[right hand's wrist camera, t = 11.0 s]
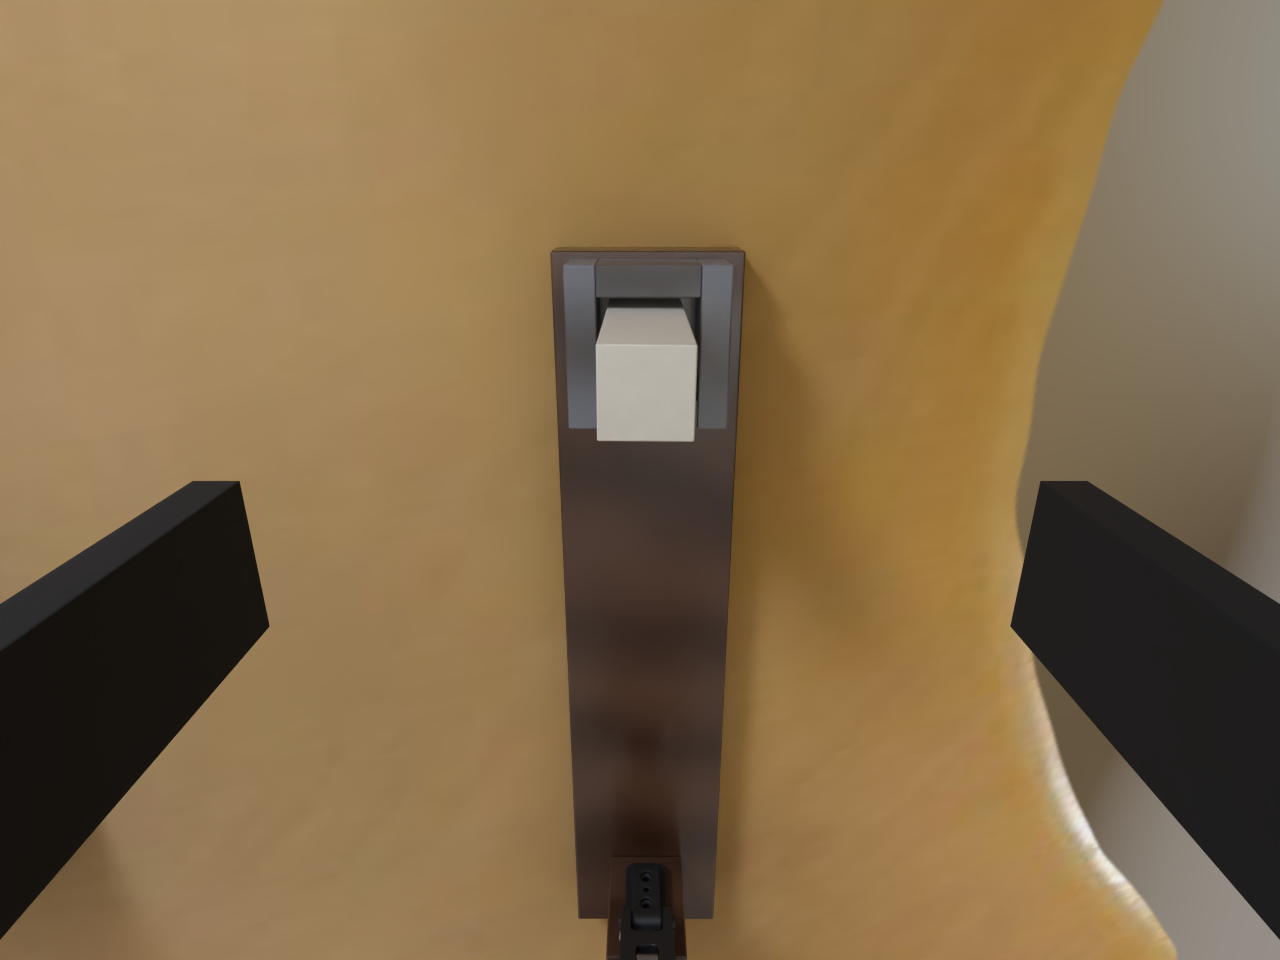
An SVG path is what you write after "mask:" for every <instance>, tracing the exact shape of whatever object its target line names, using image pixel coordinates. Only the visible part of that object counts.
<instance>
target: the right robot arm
mask: <svg viewBox="0 0 1280 960" xmlns="http://www.w3.org/2000/svg"><path fill="white" fill-rule="evenodd" d="M268 628H269V621H268V617H267V612H266V607H265V602H264V597H263V592H262V588H261V583H260V578H259V573H258V568H257V563H256V559H255V554H254V549H253V544H252V539H251V534H250V530H249V525H248V520H247V515H246V510H245V505H244V501H243V496H242V491H241V486H240V481H192V482H191V483H189V484H187V485H186V486H184V487H183V488H181V489H180V490H178V491H177V492H175V493H173V494H172V495H170V496H169V497H167V498H166V499H164V500H162V501H161V502H159V503H158V504H156V505H155V506H153V507H151V508H150V509H148V510H147V511H145V512H144V513H142V514H140V515H139V516H137V517H136V518H134V519H133V520H131V521H130V522H128V523H126V524H125V525H123V526H122V527H120V528H119V529H117V530H115V531H114V532H112V533H111V534H109V535H108V536H106V537H104V538H103V539H101V540H100V541H98V542H97V543H95V544H94V545H92V546H90V547H89V548H87V549H86V550H84V551H83V552H81V553H79V554H78V555H76V556H75V557H73V558H72V559H70V560H68V561H67V562H65V563H64V564H62V565H61V566H59V567H58V568H56V569H54V570H53V571H51V572H50V573H48V574H47V575H45V576H43V577H42V578H40V579H39V580H37V581H36V582H34V583H32V584H31V585H29V586H28V587H26V588H25V589H23V590H21V591H20V592H18V593H17V594H15V595H14V596H12V597H11V598H9V599H7V600H6V601H4V602H3V603H1V604H0V939H1V938H2V937H3V936H4V935H5V933H6V932H7V931H8V930H9V929H10V928H11V926H12V925H13V924H14V923H15V922H16V921H17V920H18V918H19V917H20V916H21V915H22V914H23V913H24V911H25V910H26V909H27V908H28V907H29V906H30V904H31V903H32V902H33V901H34V900H35V899H36V897H37V896H38V895H39V894H40V893H41V892H42V890H43V889H44V888H45V887H46V886H47V885H48V883H49V882H50V881H51V880H52V879H53V878H54V876H55V875H56V874H57V873H58V872H59V871H60V870H61V868H62V867H63V866H64V865H65V864H66V863H67V861H68V860H69V859H70V858H71V857H72V856H73V854H74V853H75V852H76V851H77V850H78V849H79V847H80V846H81V845H82V844H83V843H84V842H85V840H86V839H87V838H88V837H89V836H90V835H91V833H92V832H93V831H94V830H95V829H96V828H97V826H98V825H99V824H100V823H101V822H102V821H103V819H104V818H105V817H106V816H107V815H108V814H109V813H110V811H111V810H112V809H113V808H114V807H115V806H116V804H117V803H118V802H119V801H120V800H121V799H122V797H123V796H124V795H125V794H126V793H127V792H128V790H129V789H130V788H131V787H132V786H133V785H134V783H135V782H136V781H137V780H138V779H139V778H140V776H141V775H142V774H143V773H144V772H145V771H146V769H147V768H148V767H149V766H150V765H151V764H152V762H153V761H154V760H155V759H156V758H157V757H158V756H159V754H160V753H161V752H162V751H163V750H164V749H165V747H166V746H167V745H168V744H169V743H170V742H171V740H172V739H173V738H174V737H175V736H176V735H177V733H178V732H179V731H180V730H181V729H182V728H183V726H184V725H185V724H186V723H187V722H188V721H189V719H190V718H191V717H192V716H193V715H194V714H195V712H196V711H197V710H198V709H199V708H200V707H201V706H202V704H203V703H204V702H205V701H206V700H207V699H208V697H209V696H210V695H211V694H212V693H213V692H214V690H215V689H216V688H217V687H218V686H219V685H220V683H221V682H222V681H223V680H224V679H225V678H226V676H227V675H228V674H229V673H230V672H231V671H232V669H233V668H234V667H235V666H236V665H237V664H238V662H239V661H240V660H241V659H242V658H243V657H244V655H245V654H246V653H247V652H248V651H249V650H250V649H251V647H252V646H253V645H254V644H255V643H256V642H257V640H258V639H259V638H260V637H261V636H262V635H263V633H264V632H265V631H266V630H267V629H268ZM1011 628H1012V629H1013V630H1014V631H1015V632H1016V633H1017V635H1018V636H1019V637H1020V638H1021V639H1022V640H1023V642H1024V643H1025V644H1026V645H1027V646H1028V647H1029V649H1030V650H1031V651H1032V652H1033V653H1034V654H1035V655H1036V657H1037V658H1038V659H1039V660H1040V661H1041V662H1042V664H1043V665H1044V666H1045V667H1046V668H1047V669H1048V671H1049V672H1050V673H1051V674H1052V675H1053V676H1054V678H1055V679H1056V680H1057V681H1058V682H1059V683H1060V685H1061V686H1062V687H1063V688H1064V689H1065V690H1066V692H1067V693H1068V694H1069V695H1070V696H1071V697H1072V698H1073V700H1074V701H1075V702H1076V703H1077V704H1078V706H1079V707H1080V708H1081V709H1082V710H1083V711H1084V712H1085V714H1086V715H1087V716H1088V717H1089V718H1090V719H1091V721H1092V722H1093V723H1094V724H1095V725H1096V726H1097V728H1098V729H1099V730H1100V731H1101V732H1102V733H1103V735H1104V736H1105V737H1106V738H1107V739H1108V740H1109V741H1110V743H1111V744H1112V745H1113V746H1114V747H1115V749H1116V750H1117V751H1118V752H1119V753H1120V754H1121V756H1122V757H1123V758H1124V759H1125V760H1126V761H1127V762H1128V764H1129V765H1130V766H1131V767H1132V768H1133V769H1134V771H1135V772H1136V773H1137V774H1138V775H1139V776H1140V778H1141V779H1142V780H1143V781H1144V782H1145V783H1146V785H1147V786H1148V787H1149V788H1150V789H1151V790H1152V792H1153V793H1154V794H1155V795H1156V796H1157V797H1158V799H1159V800H1160V801H1161V802H1162V803H1163V804H1164V805H1165V807H1166V808H1167V809H1168V810H1169V811H1170V813H1171V814H1172V815H1173V816H1174V817H1175V818H1176V819H1177V821H1178V822H1179V823H1180V824H1181V825H1182V826H1183V828H1184V829H1185V830H1186V831H1187V832H1188V833H1189V835H1190V836H1191V837H1192V838H1193V839H1194V840H1195V842H1196V843H1197V844H1198V845H1199V846H1200V847H1201V849H1202V850H1203V851H1204V852H1205V853H1206V854H1207V856H1208V857H1209V858H1210V859H1211V860H1212V861H1213V863H1214V864H1215V865H1216V866H1217V867H1218V868H1219V870H1220V871H1221V872H1222V873H1223V874H1224V875H1225V876H1226V878H1227V879H1228V880H1229V881H1230V882H1231V883H1232V885H1233V886H1234V887H1235V888H1236V889H1237V890H1238V892H1239V893H1240V894H1241V895H1242V896H1243V897H1244V899H1245V900H1246V901H1247V902H1248V903H1249V904H1250V906H1251V907H1252V908H1253V909H1254V910H1255V911H1256V913H1257V914H1258V915H1259V916H1260V917H1261V918H1262V920H1263V921H1264V922H1265V923H1266V924H1267V925H1268V926H1269V928H1270V929H1271V930H1272V931H1273V932H1274V933H1275V935H1276V936H1277V937H1278V938H1279V939H1280V604H1279V603H1277V602H1276V601H1274V600H1273V599H1271V598H1269V597H1268V596H1266V595H1265V594H1263V593H1262V592H1260V591H1259V590H1257V589H1255V588H1254V587H1252V586H1251V585H1249V584H1248V583H1246V582H1244V581H1243V580H1241V579H1240V578H1238V577H1237V576H1235V575H1233V574H1232V573H1230V572H1229V571H1227V570H1226V569H1224V568H1222V567H1221V566H1219V565H1218V564H1216V563H1215V562H1213V561H1212V560H1210V559H1208V558H1207V557H1205V556H1204V555H1202V554H1201V553H1199V552H1197V551H1196V550H1194V549H1193V548H1191V547H1190V546H1188V545H1186V544H1185V543H1183V542H1182V541H1180V540H1179V539H1177V538H1175V537H1174V536H1172V535H1171V534H1169V533H1168V532H1166V531H1165V530H1163V529H1161V528H1160V527H1158V526H1157V525H1155V524H1153V523H1152V522H1150V521H1149V520H1147V519H1146V518H1144V517H1143V516H1141V515H1140V514H1138V513H1136V512H1135V511H1133V510H1132V509H1130V508H1129V507H1127V506H1125V505H1124V504H1122V503H1121V502H1119V501H1118V500H1116V499H1114V498H1113V497H1111V496H1110V495H1108V494H1107V493H1105V492H1103V491H1102V490H1100V489H1099V488H1097V487H1096V486H1094V485H1092V484H1091V483H1089V482H1088V481H1041V482H1040V486H1039V491H1038V496H1037V501H1036V505H1035V510H1034V515H1033V520H1032V525H1031V530H1030V534H1029V539H1028V544H1027V549H1026V554H1025V559H1024V563H1023V568H1022V573H1021V578H1020V583H1019V588H1018V592H1017V597H1016V602H1015V607H1014V612H1013V617H1012V621H1011Z"/></svg>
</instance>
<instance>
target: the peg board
mask: <svg viewBox="0 0 1280 960" xmlns="http://www.w3.org/2000/svg"><path fill="white" fill-rule="evenodd" d="M744 269H745V251H743V250H742V249H740V248H555V249H554V250H552V251H551V276H552V300H553V324H554V348H555V372H556V395H557V419H558V443H559V467H560V490H561V514H562V538H563V562H564V585H565V609H566V633H567V657H568V680H569V704H570V728H571V752H572V775H573V799H574V823H575V847H576V870H577V894H578V917H579V918H580V919H608V930H607V951H606V960H619V955H620V941H619V930H621V927H619V926H618V923H619V915H620V916H621V915H622V907H625V892H626V869H627V867H628V866H629V865H630V864H633V863H659V864H662V865H663V866H664V867H665V868H666V878H667V906H668V907H672V916H673V915H675V928H673V930H674V945H675V958H676V960H687V949H686V932H685V919H712V918H713V909H714V888H715V868H716V847H717V826H718V806H719V785H720V765H721V744H722V723H723V703H724V682H725V661H726V641H727V620H728V599H729V579H730V558H731V538H732V517H733V496H734V476H735V455H736V434H737V414H738V393H739V373H740V352H741V331H742V311H743V290H744ZM610 299H655V300H681V302H682V305H683V308H684V311H685V313H686V316H687V319H688V321H689V324H690V327H691V330H692V332H693V335H694V338H695V341H696V343H697V346H698V352H697V380H696V409H695V438H694V441H693V442H664V441H598V440H597V402H596V343H597V340H598V336H599V333H600V330H601V327H602V323H603V320H604V317H605V313H606V310H607V307H608V303H609V300H610Z"/></svg>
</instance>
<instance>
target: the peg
mask: <svg viewBox="0 0 1280 960" xmlns="http://www.w3.org/2000/svg"><path fill="white" fill-rule="evenodd" d="M697 352H698V346H697V343H696V341H695V338H694V335H693V332H692V330H691V327H690V324H689V321H688V319H687V316H686V313H685V311H684V308H683V305H682V302H681V300H655V299H610V300H609V303H608V307H607V310H606V313H605V317H604V320H603V323H602V327H601V330H600V333H599V336H598V340H597V343H596V402H597V440H598V441H664V442H693V441H694V438H695V409H696V380H697Z"/></svg>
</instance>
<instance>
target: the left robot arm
mask: <svg viewBox="0 0 1280 960" xmlns="http://www.w3.org/2000/svg"><path fill="white" fill-rule="evenodd" d="M618 926H619V927H621V930H619V941H620V955H619V960H676V958H675V945H674V930H673V928H675V915H673V916H672V907H668V906H667V878H666V868H665V867H664V866H663V865H662V864H659V863H633V864H630V865H629V866H628V867H627V869H626V892H625V907H622V915H621V916H620V915H619V923H618Z"/></svg>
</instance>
